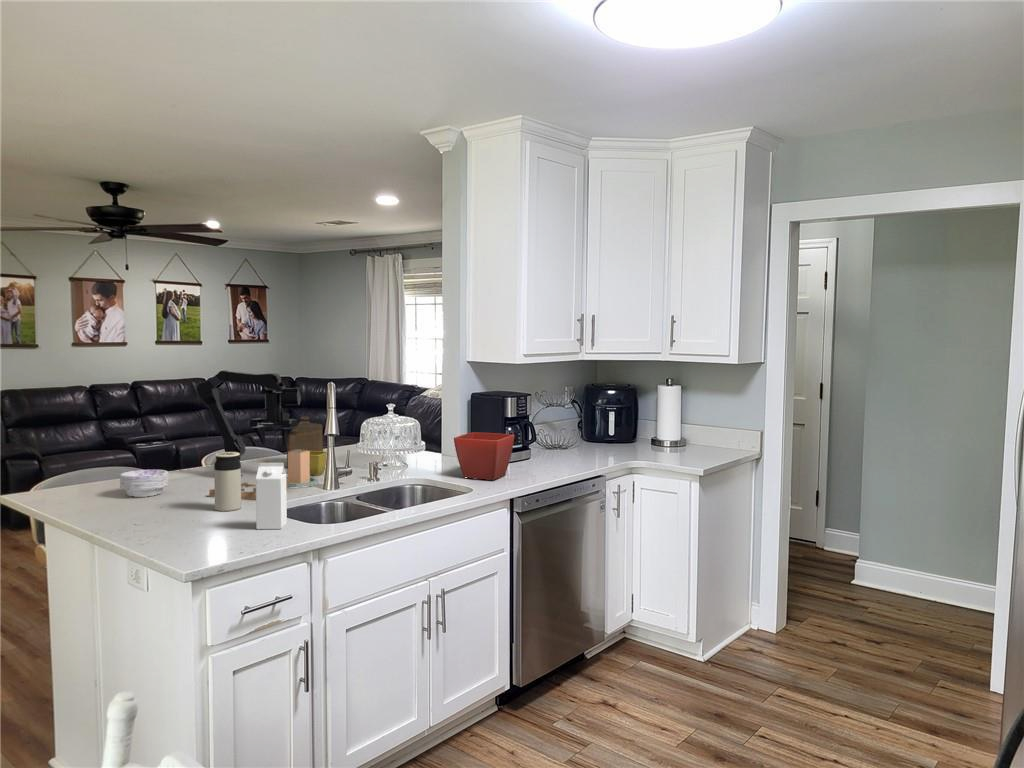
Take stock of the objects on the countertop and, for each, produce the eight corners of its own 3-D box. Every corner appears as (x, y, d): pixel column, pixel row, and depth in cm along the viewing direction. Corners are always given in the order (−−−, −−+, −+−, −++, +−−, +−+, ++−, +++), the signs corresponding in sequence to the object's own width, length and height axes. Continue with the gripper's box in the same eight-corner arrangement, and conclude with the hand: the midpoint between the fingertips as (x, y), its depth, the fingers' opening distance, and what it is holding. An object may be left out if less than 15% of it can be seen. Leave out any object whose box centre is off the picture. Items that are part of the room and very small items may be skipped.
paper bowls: (159, 488, 267) (159, 466, 267) (175, 495, 257) (174, 472, 256) (114, 494, 257) (113, 471, 256) (128, 501, 246) (127, 478, 245)
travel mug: (225, 512, 232) (224, 456, 231) (209, 509, 236) (208, 454, 235) (246, 508, 239) (245, 453, 238) (230, 504, 243) (230, 450, 242)
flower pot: (319, 477, 291) (319, 454, 290) (299, 476, 293) (299, 454, 292) (329, 473, 300) (329, 451, 299) (309, 472, 301) (309, 450, 301)
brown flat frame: (209, 496, 254) (209, 485, 254) (244, 485, 275) (244, 474, 274) (256, 500, 250) (256, 488, 250) (288, 488, 270) (288, 477, 270)
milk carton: (262, 523, 220) (261, 460, 219) (286, 523, 220) (286, 460, 219) (256, 529, 213) (255, 465, 212) (281, 529, 213) (280, 464, 212)
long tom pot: (288, 483, 275) (287, 451, 274) (297, 481, 280) (297, 449, 280) (300, 484, 273) (300, 452, 272) (309, 482, 278) (309, 450, 278)
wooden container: (308, 463, 323) (307, 413, 322) (330, 466, 314) (330, 415, 313) (279, 467, 311) (279, 416, 310) (302, 471, 302) (301, 418, 301)
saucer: (274, 486, 272) (274, 482, 272) (292, 480, 285) (292, 476, 285) (305, 488, 269) (305, 484, 269) (323, 482, 282) (323, 478, 282)
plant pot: (452, 479, 290) (452, 437, 289) (472, 471, 308) (473, 431, 306) (496, 483, 283) (497, 440, 282) (515, 475, 300) (515, 434, 299)
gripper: (305, 403, 293) (306, 442, 294) (263, 402, 297) (265, 441, 298) (289, 406, 282) (290, 446, 283) (247, 405, 287) (248, 445, 288)
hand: (274, 444), depth 288 cm, fingers open, 9 cm apart
